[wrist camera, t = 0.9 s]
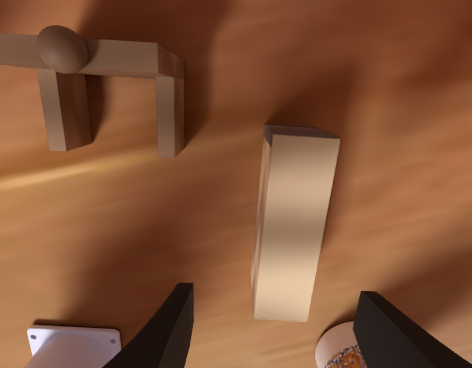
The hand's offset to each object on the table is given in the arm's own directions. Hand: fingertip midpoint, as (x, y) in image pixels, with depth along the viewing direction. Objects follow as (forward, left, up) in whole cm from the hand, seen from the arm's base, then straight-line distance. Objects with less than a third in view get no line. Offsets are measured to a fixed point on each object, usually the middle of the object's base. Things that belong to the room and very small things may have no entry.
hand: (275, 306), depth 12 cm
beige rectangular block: (+1, -1, -10) cm, 10 cm away
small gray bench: (+7, +10, -10) cm, 15 cm away
